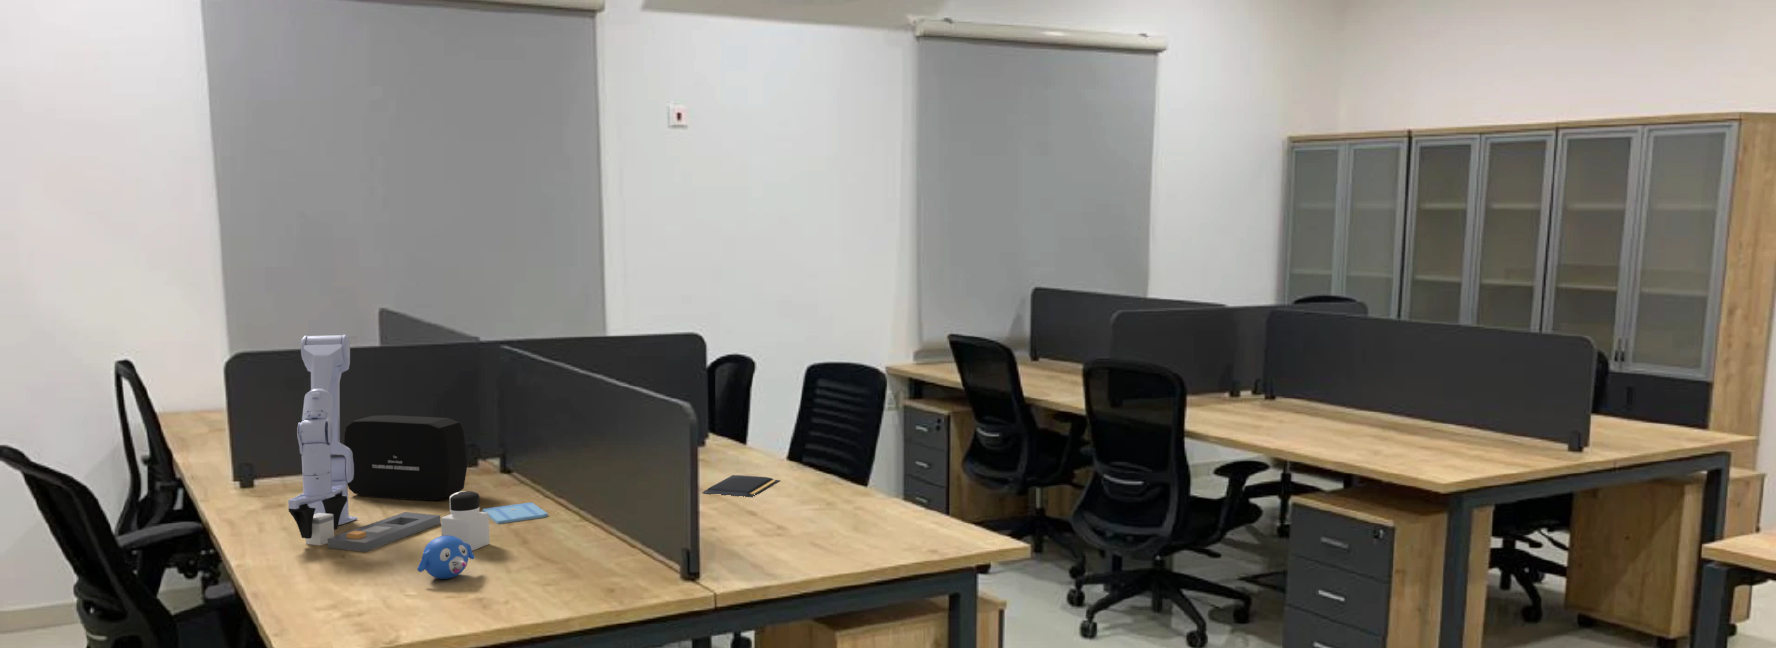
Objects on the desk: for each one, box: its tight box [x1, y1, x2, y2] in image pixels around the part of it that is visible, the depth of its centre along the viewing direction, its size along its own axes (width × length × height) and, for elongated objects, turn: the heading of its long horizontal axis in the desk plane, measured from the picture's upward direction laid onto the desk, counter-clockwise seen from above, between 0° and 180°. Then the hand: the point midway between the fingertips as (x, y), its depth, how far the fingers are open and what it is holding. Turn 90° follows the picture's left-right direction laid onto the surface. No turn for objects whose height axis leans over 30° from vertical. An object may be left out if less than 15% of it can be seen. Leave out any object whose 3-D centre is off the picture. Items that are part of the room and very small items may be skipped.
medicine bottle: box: [440, 490, 490, 552], centre depth 253 cm, size 7×7×12 cm
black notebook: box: [701, 474, 781, 498], centre depth 310 cm, size 20×2×15 cm
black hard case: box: [343, 414, 469, 501], centre depth 301 cm, size 30×12×20 cm, turn 76°
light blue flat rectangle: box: [482, 501, 549, 525], centre depth 282 cm, size 14×12×1 cm
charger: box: [305, 513, 335, 546], centre depth 257 cm, size 4×4×6 cm
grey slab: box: [327, 511, 441, 553], centre depth 263 cm, size 24×10×3 cm, turn 162°
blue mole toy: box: [417, 535, 476, 580], centre depth 231 cm, size 12×12×8 cm
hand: (319, 533), depth 257 cm, fingers open, 7 cm apart
